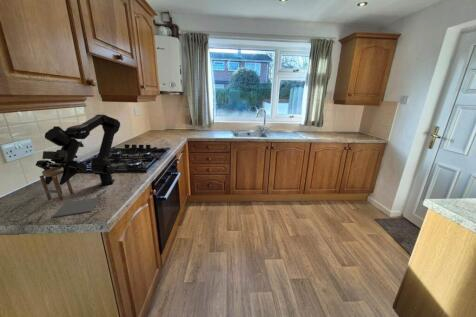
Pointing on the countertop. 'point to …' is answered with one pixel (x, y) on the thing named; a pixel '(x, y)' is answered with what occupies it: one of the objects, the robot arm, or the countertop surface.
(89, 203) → the mat
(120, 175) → the countertop surface
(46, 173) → the stool
